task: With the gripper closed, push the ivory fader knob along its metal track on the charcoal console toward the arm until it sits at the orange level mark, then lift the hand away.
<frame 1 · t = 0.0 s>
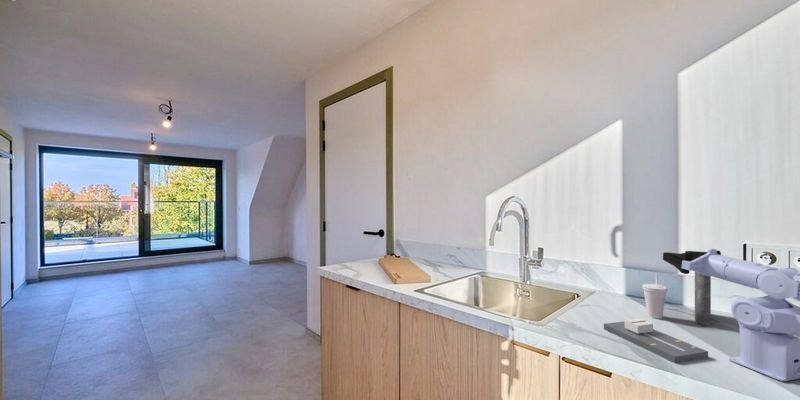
hand: (675, 255, 92), 22 cm above the worktop, tool horizontal, fingers open, 7 cm apart
smoothie: (654, 317, 105), on the worktop
fader knob: (638, 325, 91), point 3 cm above the worktop, slide at 0.0 cm
flask: (701, 319, 102), on the worktop
console: (650, 341, 87), on the worktop
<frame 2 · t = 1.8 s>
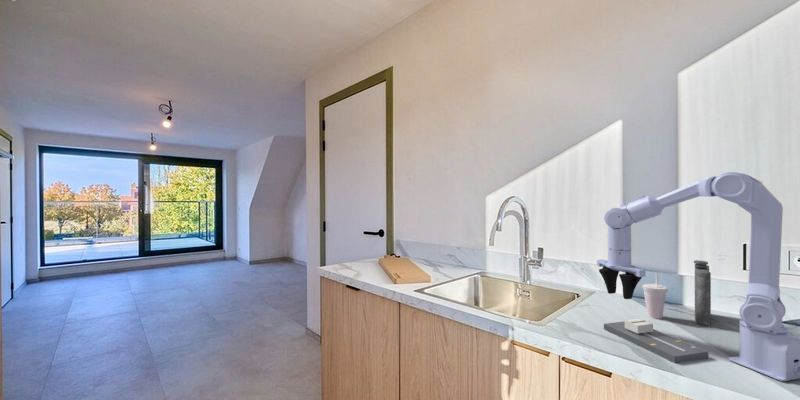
hand: (619, 295, 96), 9 cm above the worktop, tool pointing down, fingers open, 5 cm apart
nothing on the worktop moved.
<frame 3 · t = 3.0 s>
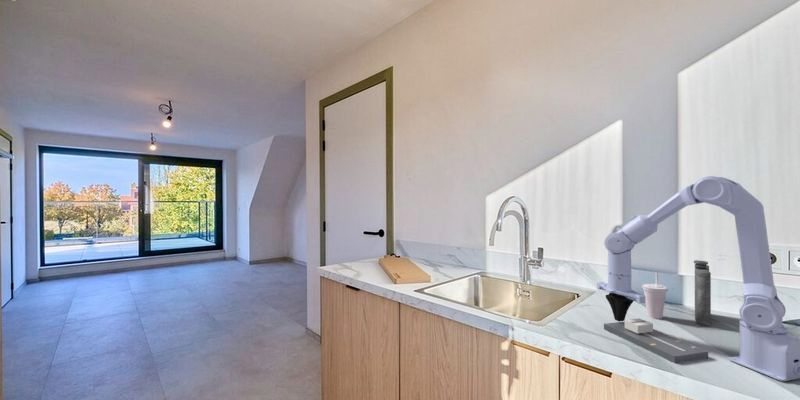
hand: (619, 320, 96), 2 cm above the worktop, tool pointing down, fingers closed
nothing on the worktop moved.
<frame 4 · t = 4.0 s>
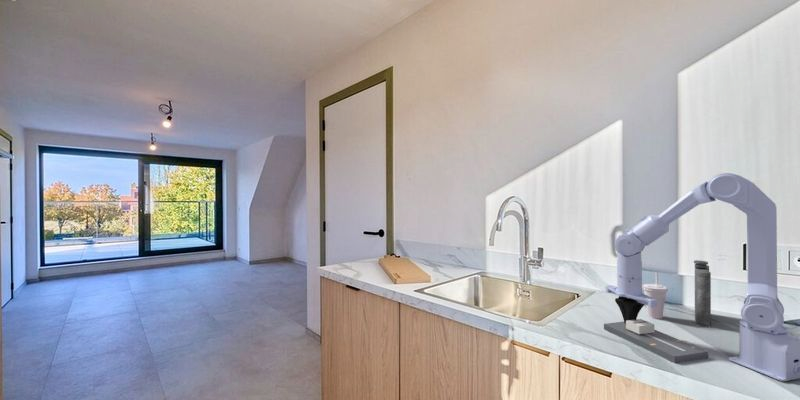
hand: (629, 324, 93), 2 cm above the worktop, tool pointing down, fingers closed
fader knob: (639, 326, 90), point 3 cm above the worktop, slide at 0.4 cm, touching gripper
everything else where it was.
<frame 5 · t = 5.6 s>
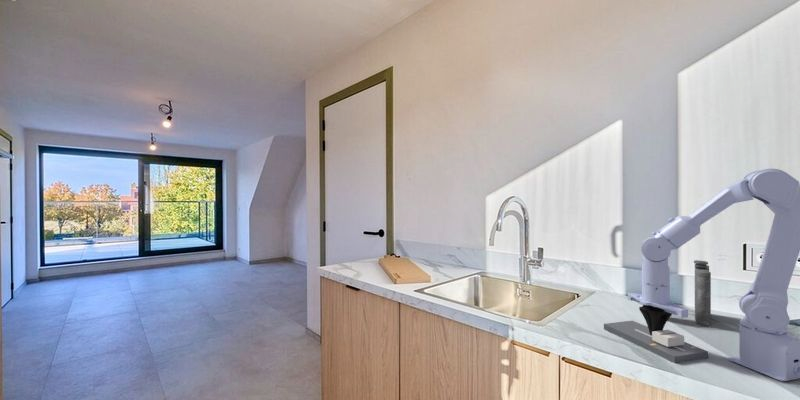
hand: (655, 335, 86), 2 cm above the worktop, tool pointing down, fingers closed
fader knob: (667, 337, 83), point 3 cm above the worktop, slide at 8.0 cm, touching gripper
everything else where it was.
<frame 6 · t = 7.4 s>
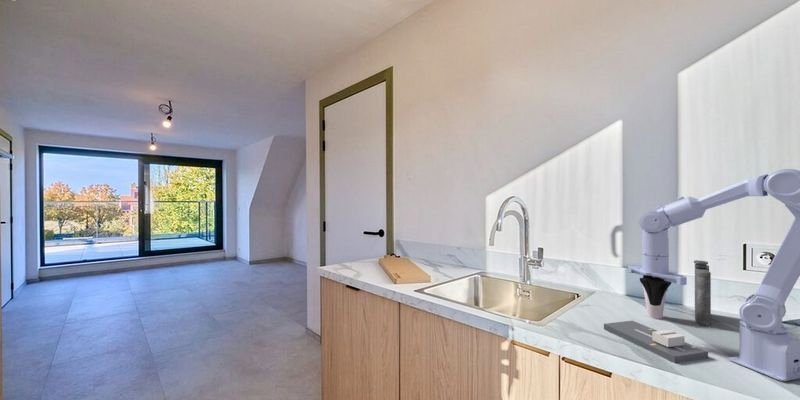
hand: (655, 304, 90), 9 cm above the worktop, tool pointing down, fingers closed
fader knob: (668, 337, 83), point 3 cm above the worktop, slide at 8.1 cm
everything else where it was.
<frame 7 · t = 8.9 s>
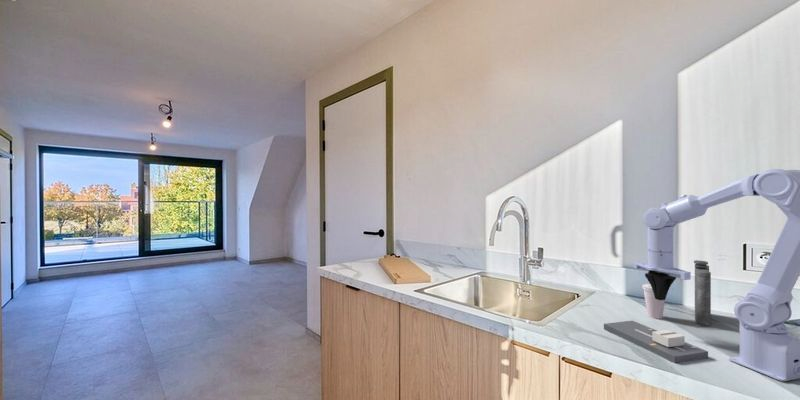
hand: (660, 299, 93), 9 cm above the worktop, tool pointing down, fingers closed
nothing on the worktop moved.
at the end: fader knob slide at 8.1 cm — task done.
